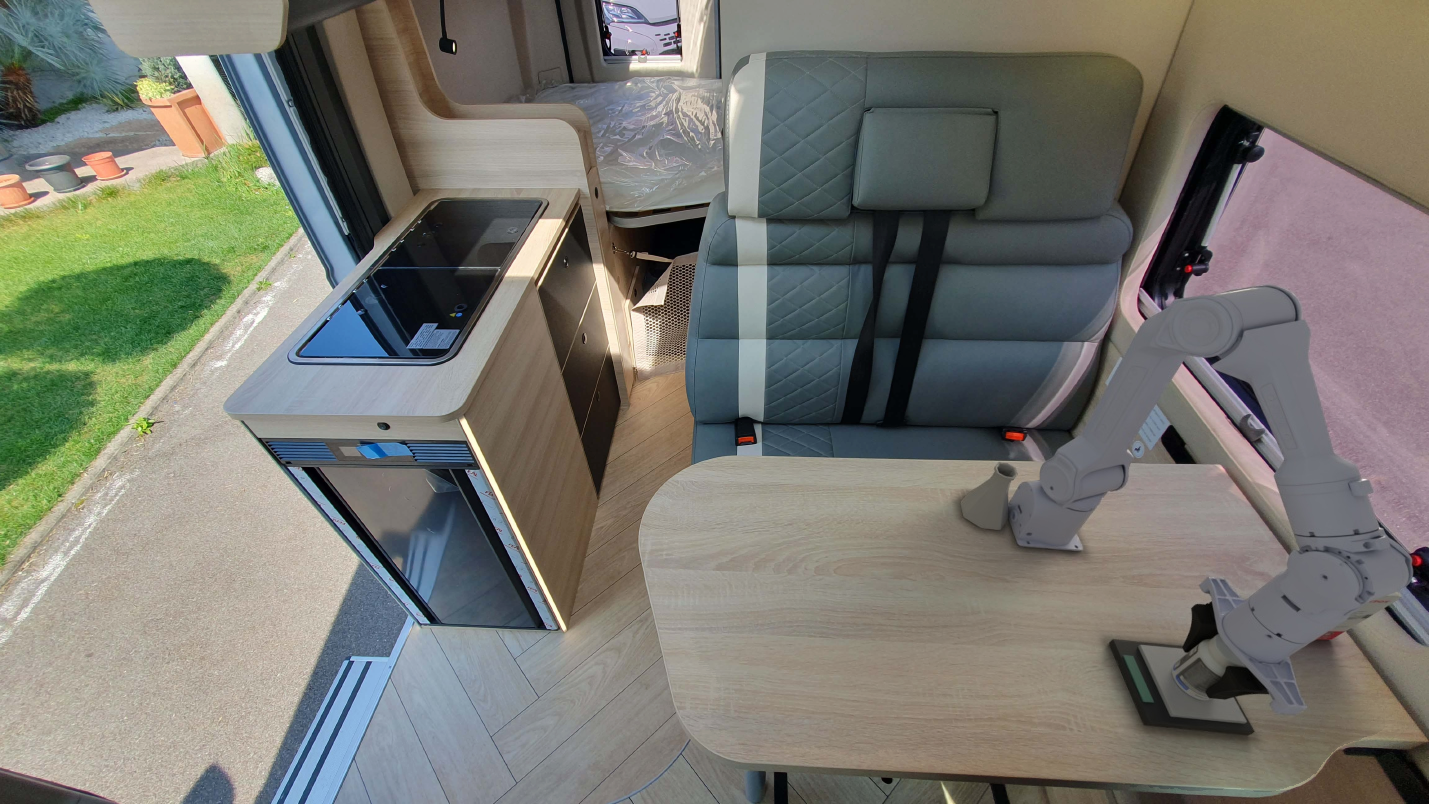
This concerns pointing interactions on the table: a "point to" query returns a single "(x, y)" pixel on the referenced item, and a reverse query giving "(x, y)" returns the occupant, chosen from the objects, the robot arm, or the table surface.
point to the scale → (1172, 691)
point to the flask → (990, 499)
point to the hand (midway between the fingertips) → (1203, 672)
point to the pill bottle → (1204, 667)
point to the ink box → (1361, 615)
